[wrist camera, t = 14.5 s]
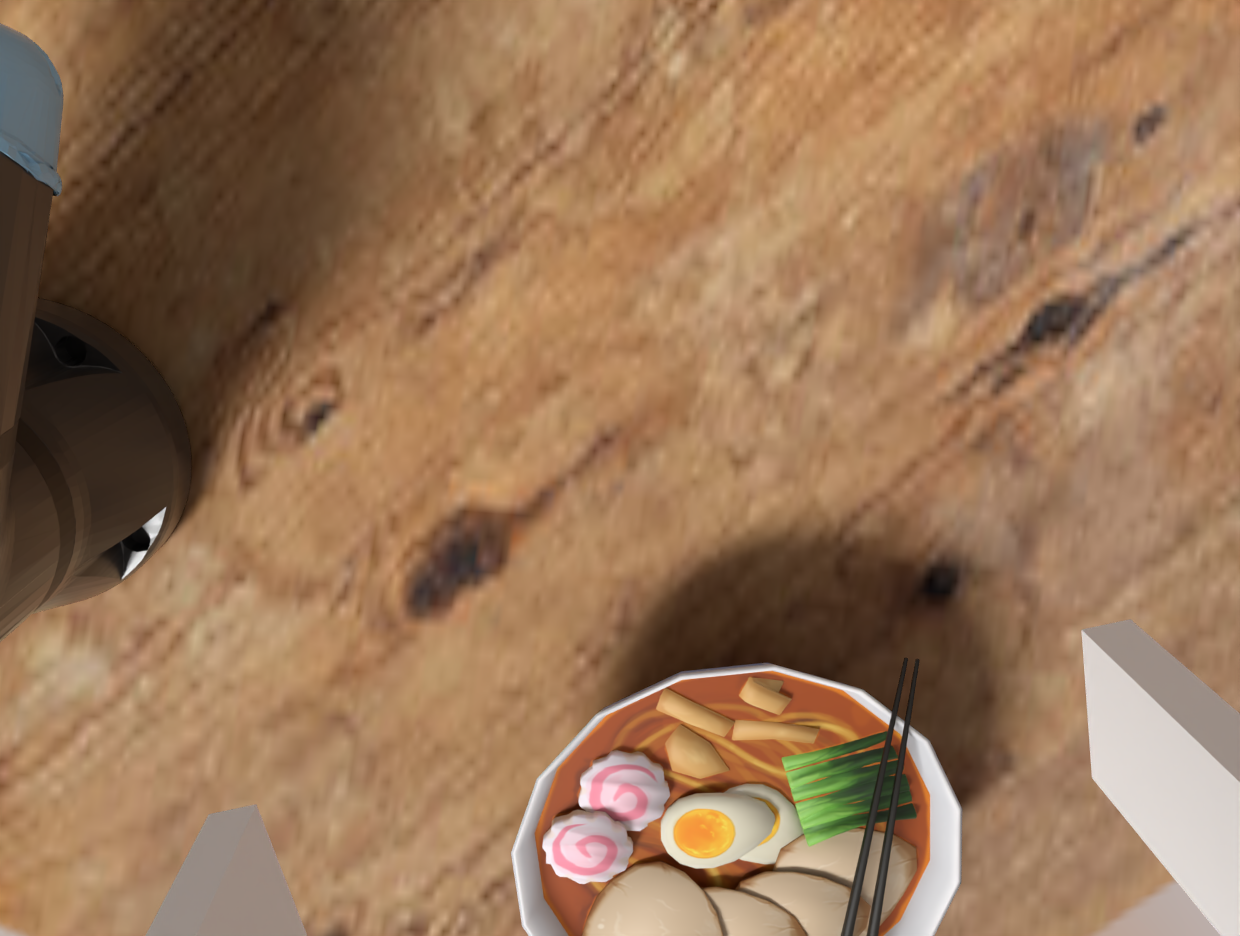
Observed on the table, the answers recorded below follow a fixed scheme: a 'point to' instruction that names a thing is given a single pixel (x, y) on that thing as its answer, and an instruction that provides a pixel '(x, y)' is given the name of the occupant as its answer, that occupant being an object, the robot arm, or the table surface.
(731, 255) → the table surface
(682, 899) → the ramen bowl
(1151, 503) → the table surface
